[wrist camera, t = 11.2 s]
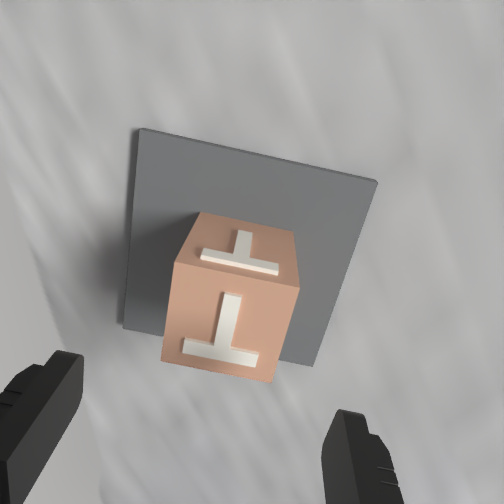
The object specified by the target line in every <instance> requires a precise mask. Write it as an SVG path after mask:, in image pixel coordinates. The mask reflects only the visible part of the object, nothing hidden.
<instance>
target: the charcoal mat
mask: <svg viewBox="0 0 504 504" xmlns="http://www.w3.org/2000/svg"><path fill="white" fill-rule="evenodd" d="M377 184H378V182H377V181H376V180H374V179H369V178H365V177H360V176H356V175H352V174H347V173H343V172H338V171H334V170H329V169H325V168H320V167H316V166H311V165H307V164H302V163H298V162H294V161H289V160H285V159H280V158H276V157H271V156H267V155H262V154H258V153H253V152H249V151H244V150H240V149H235V148H231V147H227V146H222V145H218V144H213V143H209V142H204V141H200V140H195V139H191V138H186V137H182V136H177V135H173V134H169V133H164V132H160V131H155V130H151V129H146V128H142V129H140V130H139V142H138V154H137V165H136V177H135V189H134V200H133V212H132V224H131V235H130V247H129V259H128V270H127V282H126V294H125V305H124V317H123V329H128V330H133V331H138V332H143V333H148V334H153V335H158V336H163V337H164V332H165V325H166V318H167V311H168V304H169V297H170V290H171V283H172V276H173V268H174V262H175V260H176V258H177V256H178V254H179V252H180V250H181V248H182V246H183V244H184V242H185V241H186V239H187V237H188V235H189V233H190V231H191V229H192V227H193V225H194V223H195V222H196V220H197V218H198V216H199V214H200V212H205V213H209V214H214V215H218V216H223V217H228V218H232V219H237V220H242V221H246V222H251V223H256V224H260V225H265V226H269V227H274V228H279V229H283V230H288V231H293V234H294V242H295V251H296V259H297V267H298V275H299V284H300V290H299V293H298V296H297V300H296V303H295V306H294V310H293V313H292V316H291V320H290V323H289V326H288V329H287V333H286V336H285V339H284V343H283V346H282V349H281V353H280V356H279V359H278V360H281V361H286V362H291V363H296V364H301V365H306V366H311V367H313V365H314V362H315V359H316V356H317V353H318V351H319V348H320V345H321V342H322V339H323V336H324V334H325V331H326V328H327V325H328V322H329V320H330V317H331V314H332V311H333V308H334V305H335V303H336V300H337V297H338V294H339V291H340V289H341V286H342V283H343V280H344V277H345V274H346V272H347V269H348V266H349V263H350V260H351V258H352V255H353V252H354V249H355V246H356V243H357V241H358V238H359V235H360V232H361V229H362V227H363V224H364V221H365V218H366V215H367V212H368V210H369V207H370V204H371V201H372V198H373V196H374V193H375V190H376V187H377Z"/></svg>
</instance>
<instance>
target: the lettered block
mask: <svg viewBox="0 0 504 504" xmlns="http://www.w3.org/2000/svg"><path fill="white" fill-rule="evenodd" d="M299 290H300V284H299V275H298V267H297V259H296V251H295V242H294V234H293V231H288V230H283V229H279V228H274V227H269V226H265V225H260V224H256V223H251V222H246V221H242V220H237V219H232V218H228V217H223V216H218V215H214V214H209V213H205V212H200V214H199V216H198V218H197V220H196V222H195V223H194V225H193V227H192V229H191V231H190V233H189V235H188V237H187V239H186V241H185V242H184V244H183V246H182V248H181V250H180V252H179V254H178V256H177V258H176V260H175V262H174V268H173V276H172V283H171V290H170V297H169V304H168V311H167V318H166V325H165V332H164V339H163V346H162V354H161V361H163V362H168V363H173V364H178V365H183V366H188V367H193V368H198V369H203V370H208V371H213V372H218V373H223V374H228V375H233V376H238V377H243V378H248V379H253V380H258V381H263V382H268V383H271V382H272V379H273V376H274V372H275V369H276V366H277V362H278V359H279V356H280V353H281V349H282V346H283V343H284V339H285V336H286V333H287V329H288V326H289V323H290V320H291V316H292V313H293V310H294V306H295V303H296V300H297V296H298V293H299Z"/></svg>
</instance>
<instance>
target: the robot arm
mask: <svg viewBox="0 0 504 504" xmlns="http://www.w3.org/2000/svg"><path fill="white" fill-rule="evenodd" d="M83 373H84V357H83V355H79V354H75V353H70V352H65V351H60V350H57V351H56V352H54V354H53V355H52V356H51V357H50V359H49V360H48V361H47V362H46V364H45V365H44V366H41V365H36V364H33V365H31V366H29V367H28V368H26V369H25V370H23V371H22V372H20V373H18V374H17V375H16V376H15V377H14V378H13V379H12V381H11V382H10V383H9V384H8V385H7V386H6V388H5V389H4V391H3V392H2V393H1V394H0V504H23V502H24V501H25V499H26V497H27V496H28V494H29V492H30V490H31V489H32V487H33V485H34V483H35V482H36V480H37V478H38V477H39V475H40V473H41V472H42V470H43V468H44V466H45V465H46V463H47V461H48V459H49V458H50V456H51V454H52V453H53V451H54V449H55V447H56V446H57V444H58V442H59V440H60V439H61V437H62V435H63V434H64V432H65V430H66V428H67V427H68V425H69V423H70V422H71V420H72V418H73V416H74V415H75V413H76V411H77V409H78V407H79V404H80V401H81V398H82V393H83ZM321 462H322V472H323V481H324V490H325V499H326V504H404V501H403V498H402V494H401V491H400V488H399V487H398V481H397V477H396V474H395V473H394V467H393V463H392V460H391V456H390V453H389V451H388V449H387V448H386V446H385V445H384V443H383V442H382V440H381V439H380V437H379V436H378V435H374V434H369V431H368V427H367V423H366V419H365V416H364V415H363V414H360V413H356V412H351V411H346V410H341V409H339V410H338V411H337V412H336V414H335V417H334V419H333V421H332V424H331V426H330V428H329V431H328V433H327V435H326V437H325V440H324V443H323V447H322V455H321Z"/></svg>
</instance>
